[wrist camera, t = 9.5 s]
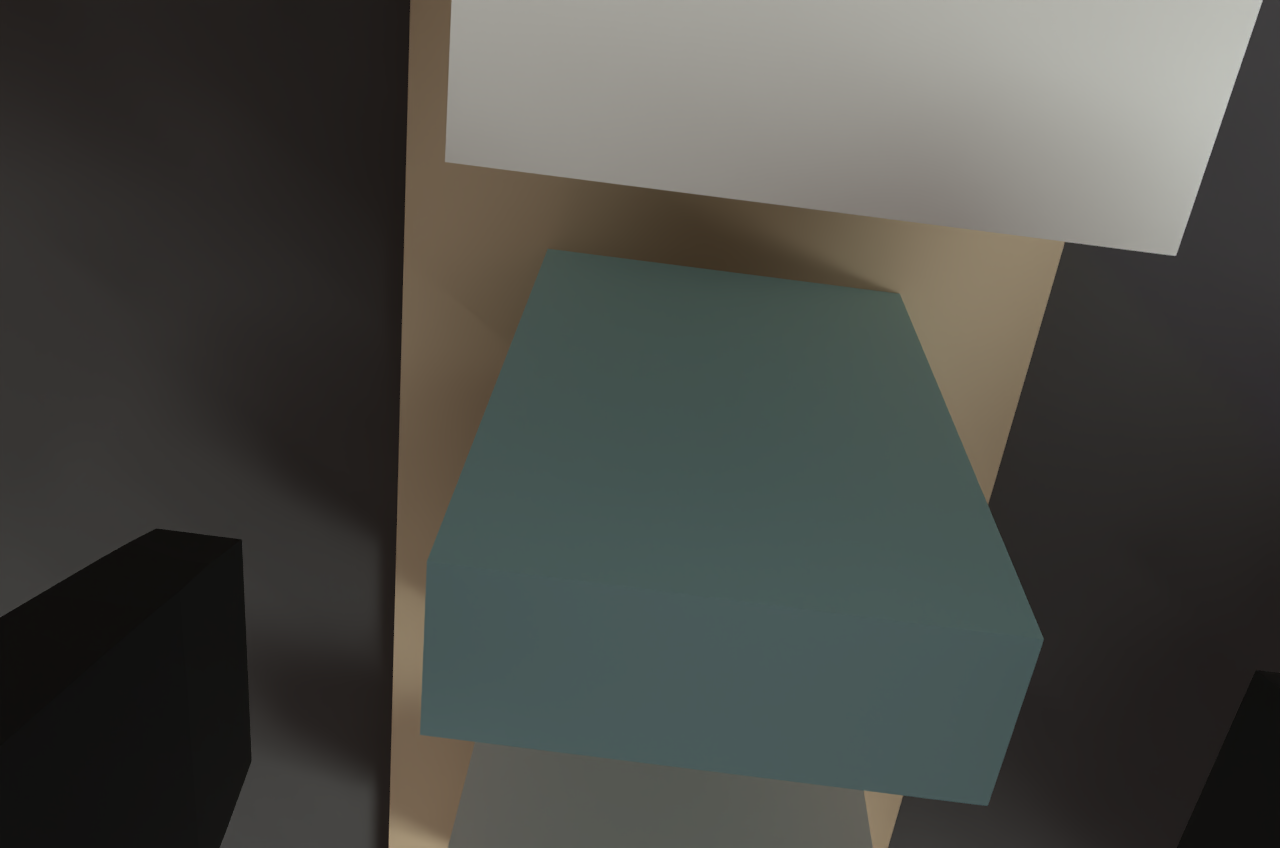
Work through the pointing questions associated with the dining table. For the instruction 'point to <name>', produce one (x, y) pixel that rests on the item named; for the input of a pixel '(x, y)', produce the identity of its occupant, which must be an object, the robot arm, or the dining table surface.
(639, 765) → the domino
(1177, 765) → the dining table surface
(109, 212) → the dining table surface
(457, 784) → the oak board
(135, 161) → the dining table surface
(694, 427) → the teal domino
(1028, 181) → the domino
